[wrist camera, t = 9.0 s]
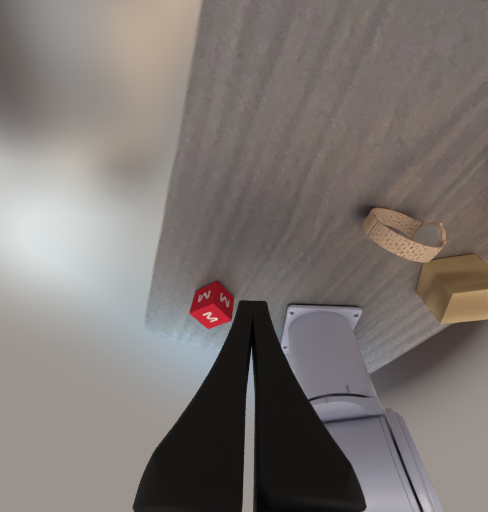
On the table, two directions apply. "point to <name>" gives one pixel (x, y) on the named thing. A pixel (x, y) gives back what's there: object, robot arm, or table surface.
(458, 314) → the birch block
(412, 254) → the tan wristwatch
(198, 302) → the red letter cube
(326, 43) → the table surface
